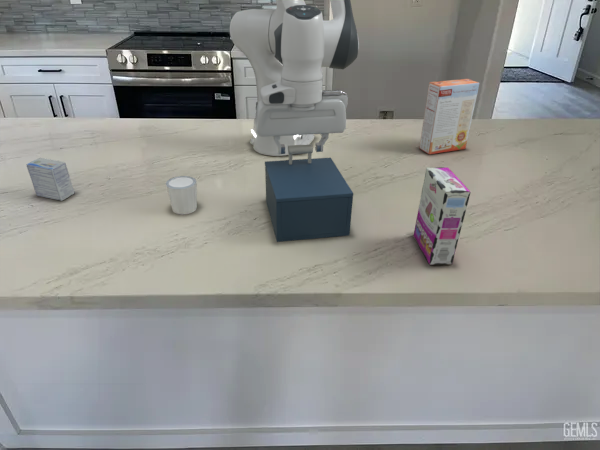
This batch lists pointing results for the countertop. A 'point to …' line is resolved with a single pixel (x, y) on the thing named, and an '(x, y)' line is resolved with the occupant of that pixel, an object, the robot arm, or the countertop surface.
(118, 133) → the countertop surface
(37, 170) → the medicine box
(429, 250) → the candy bar box
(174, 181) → the shot glass
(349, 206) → the dark blue open box
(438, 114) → the cracker box
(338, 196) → the lid
